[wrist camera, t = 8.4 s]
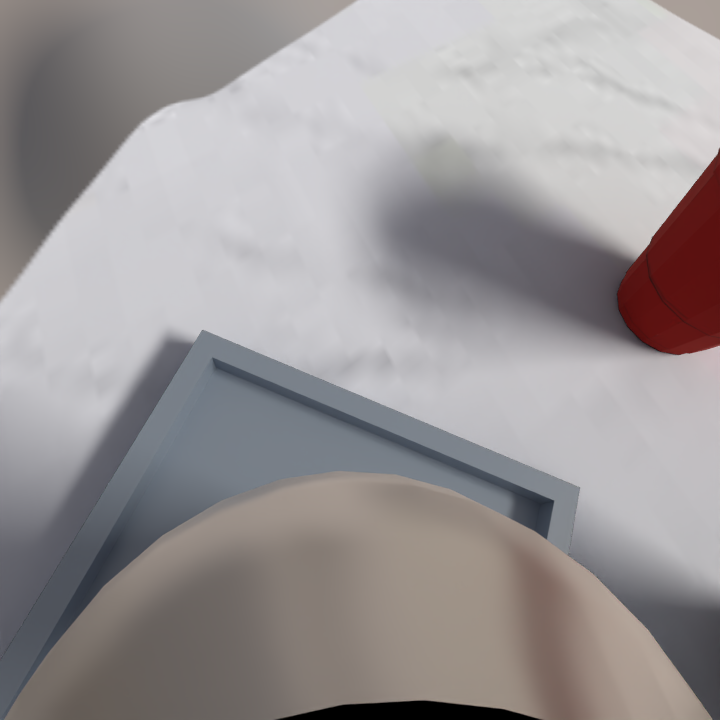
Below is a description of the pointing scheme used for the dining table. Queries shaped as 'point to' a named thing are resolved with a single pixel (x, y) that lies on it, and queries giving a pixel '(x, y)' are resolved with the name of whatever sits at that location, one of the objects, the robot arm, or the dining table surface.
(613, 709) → the plastic bottle
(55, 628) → the blue-gray tray
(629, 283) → the plastic cup
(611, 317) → the dining table surface
